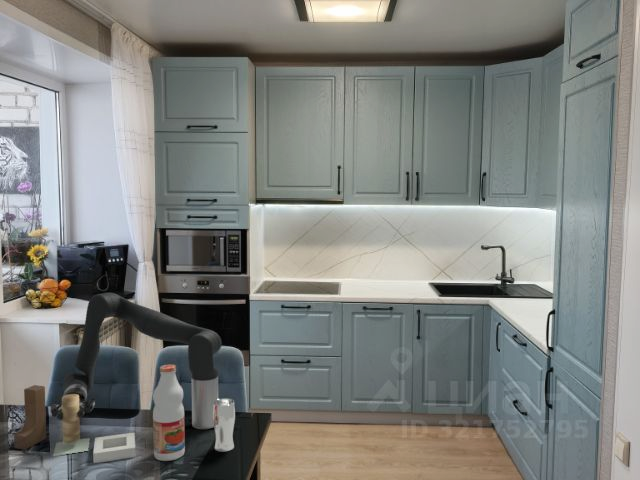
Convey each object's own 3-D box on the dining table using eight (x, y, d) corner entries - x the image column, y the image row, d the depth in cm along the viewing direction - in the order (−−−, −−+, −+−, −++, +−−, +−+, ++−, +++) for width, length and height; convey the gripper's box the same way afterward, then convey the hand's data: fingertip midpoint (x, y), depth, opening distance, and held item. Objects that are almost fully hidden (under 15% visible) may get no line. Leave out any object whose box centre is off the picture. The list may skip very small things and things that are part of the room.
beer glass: (239, 444, 175) (238, 399, 174) (228, 453, 169) (228, 407, 168) (220, 441, 178) (219, 397, 177) (209, 450, 171) (208, 404, 170)
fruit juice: (167, 446, 174) (165, 360, 173) (191, 451, 171) (189, 364, 169) (147, 458, 166) (145, 368, 164) (171, 464, 162) (170, 372, 160)
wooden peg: (80, 435, 176) (79, 393, 176) (79, 441, 172) (78, 398, 171) (63, 437, 175) (62, 395, 174) (61, 443, 170) (60, 400, 169)
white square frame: (134, 441, 178) (134, 432, 178) (135, 457, 167) (135, 447, 166) (95, 446, 174) (95, 437, 174) (93, 463, 163) (93, 453, 162)
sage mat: (89, 439, 180) (89, 437, 180) (88, 451, 170) (88, 450, 170) (56, 443, 176) (56, 442, 176) (53, 456, 167) (53, 455, 167)
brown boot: (25, 450, 171) (23, 394, 170) (13, 448, 173) (12, 393, 172) (46, 438, 180) (45, 385, 179) (36, 437, 181) (34, 384, 180)
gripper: (51, 389, 184) (44, 407, 168) (96, 385, 189) (94, 401, 173) (52, 411, 184) (45, 430, 168) (97, 406, 189) (94, 424, 173)
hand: (70, 415), depth 171 cm, fingers closed on wooden peg, 5 cm apart
